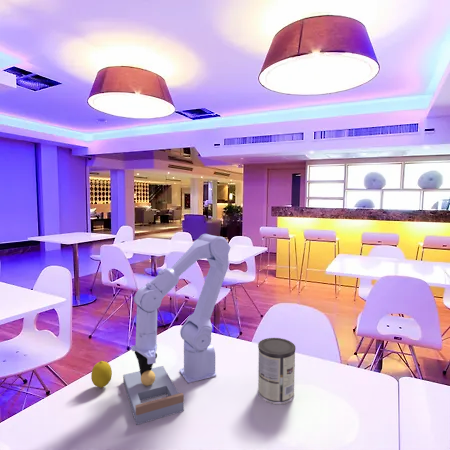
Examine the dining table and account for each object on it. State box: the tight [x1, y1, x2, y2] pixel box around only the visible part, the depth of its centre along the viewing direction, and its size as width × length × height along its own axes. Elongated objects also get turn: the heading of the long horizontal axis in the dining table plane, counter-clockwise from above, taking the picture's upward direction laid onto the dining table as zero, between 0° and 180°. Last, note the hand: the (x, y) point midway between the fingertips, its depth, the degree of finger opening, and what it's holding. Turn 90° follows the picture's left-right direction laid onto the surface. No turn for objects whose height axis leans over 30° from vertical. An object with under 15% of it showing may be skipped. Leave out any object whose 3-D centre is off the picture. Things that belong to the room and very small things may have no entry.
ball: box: [141, 370, 155, 386], centre depth 91 cm, size 4×4×4 cm
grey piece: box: [122, 365, 185, 425], centre depth 89 cm, size 12×20×4 cm, turn 26°
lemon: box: [90, 360, 113, 389], centre depth 93 cm, size 6×6×8 cm
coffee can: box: [257, 337, 296, 405], centre depth 91 cm, size 10×10×14 cm
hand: (145, 376), depth 92 cm, fingers closed, pressing on ball
